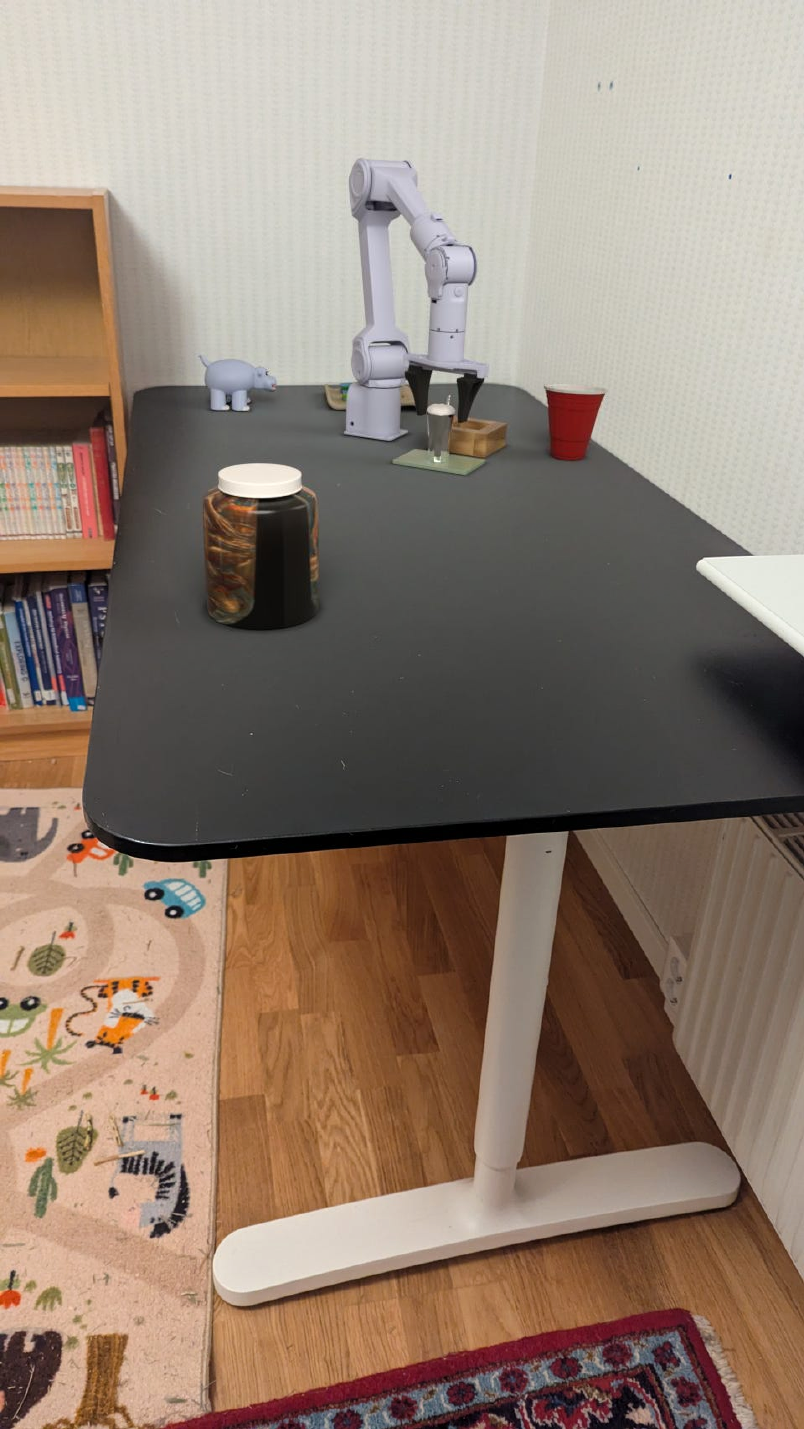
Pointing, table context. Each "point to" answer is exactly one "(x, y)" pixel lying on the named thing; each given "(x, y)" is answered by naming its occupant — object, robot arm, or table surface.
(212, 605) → the jar
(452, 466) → the tile
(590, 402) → the plastic cup
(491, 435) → the holder
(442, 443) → the milkshake
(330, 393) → the puzzle board
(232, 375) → the hippopotamus toy
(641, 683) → the table surface
